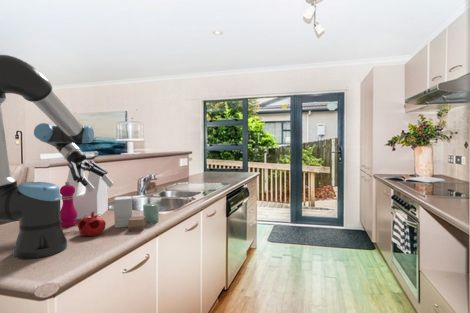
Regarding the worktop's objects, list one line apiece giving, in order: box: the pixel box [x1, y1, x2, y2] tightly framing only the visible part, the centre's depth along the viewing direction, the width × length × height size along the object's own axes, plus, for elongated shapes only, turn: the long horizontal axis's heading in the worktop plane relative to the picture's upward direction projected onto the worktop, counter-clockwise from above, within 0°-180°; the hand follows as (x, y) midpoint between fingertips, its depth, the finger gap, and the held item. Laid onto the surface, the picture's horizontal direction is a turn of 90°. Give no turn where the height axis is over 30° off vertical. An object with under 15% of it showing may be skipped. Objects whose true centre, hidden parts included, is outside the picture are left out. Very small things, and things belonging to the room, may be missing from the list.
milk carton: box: [66, 166, 109, 220], centre depth 148 cm, size 19×15×25 cm
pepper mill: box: [59, 181, 77, 228], centre depth 127 cm, size 7×7×20 cm
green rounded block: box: [142, 203, 160, 224], centre depth 133 cm, size 7×7×8 cm
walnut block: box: [127, 215, 147, 232], centre depth 122 cm, size 6×6×5 cm
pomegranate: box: [77, 212, 107, 237], centre depth 114 cm, size 10×10×9 cm
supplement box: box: [113, 195, 133, 229], centre depth 128 cm, size 7×7×13 cm
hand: (102, 187), depth 130 cm, fingers open, 13 cm apart
